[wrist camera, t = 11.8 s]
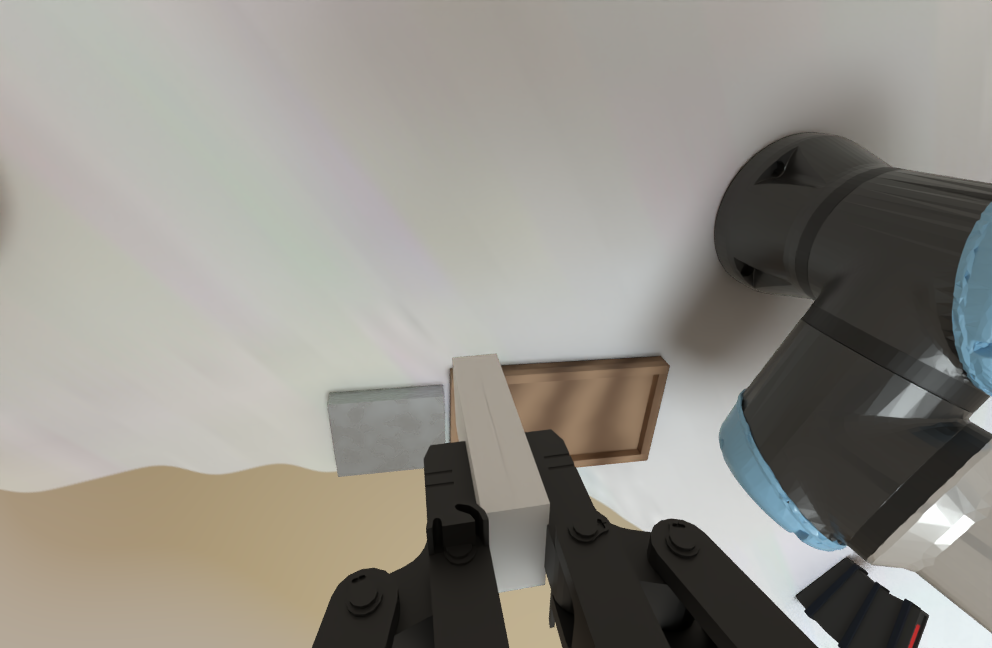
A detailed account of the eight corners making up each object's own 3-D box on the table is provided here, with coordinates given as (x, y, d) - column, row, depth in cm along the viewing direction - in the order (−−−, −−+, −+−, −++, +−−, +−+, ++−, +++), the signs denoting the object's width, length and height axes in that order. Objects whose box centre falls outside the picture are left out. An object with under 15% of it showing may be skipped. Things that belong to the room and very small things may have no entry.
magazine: (785, 616, 79) (892, 685, 66) (816, 542, 81) (925, 594, 68) (796, 622, 81) (903, 690, 67) (826, 549, 83) (935, 602, 69)
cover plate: (442, 382, 49) (444, 396, 47) (443, 450, 53) (445, 466, 51) (330, 390, 47) (327, 404, 45) (340, 459, 51) (338, 476, 49)
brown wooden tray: (660, 356, 52) (669, 365, 50) (639, 448, 58) (647, 460, 56) (450, 368, 48) (452, 379, 46) (450, 467, 54) (451, 480, 52)
